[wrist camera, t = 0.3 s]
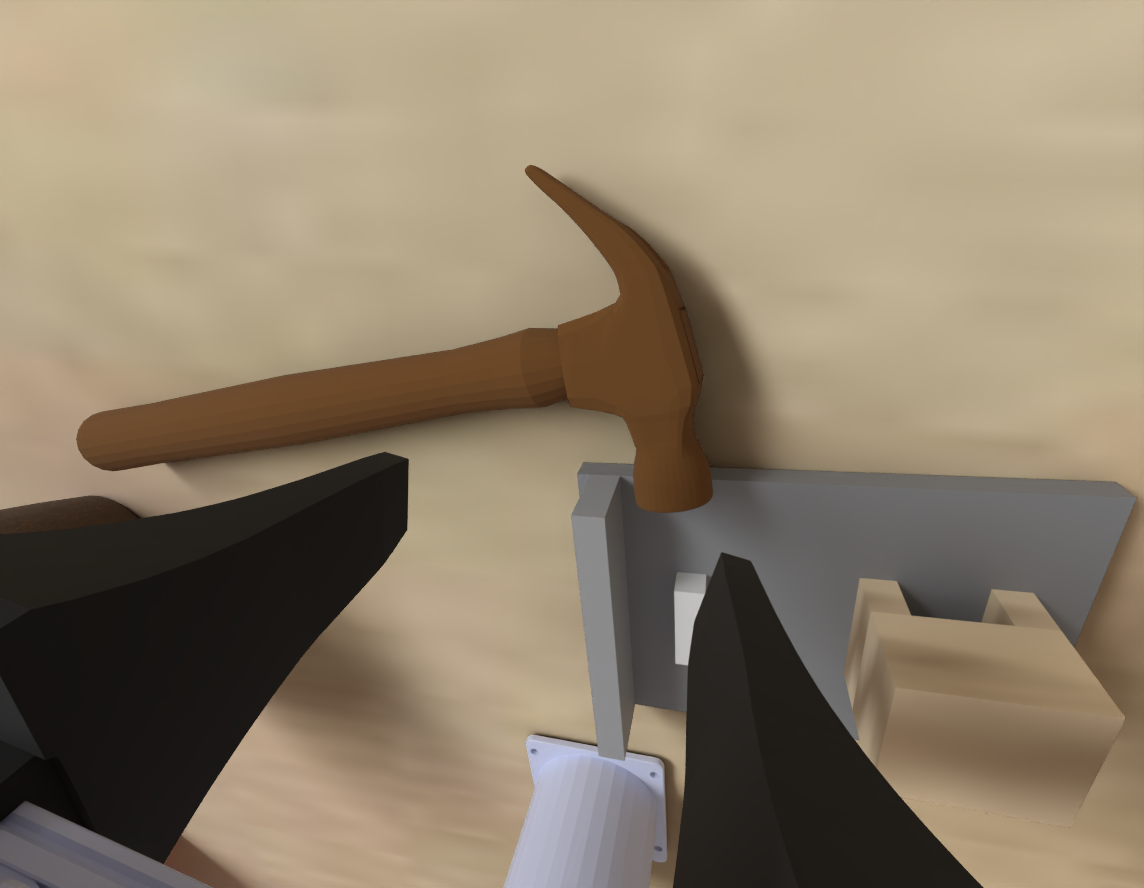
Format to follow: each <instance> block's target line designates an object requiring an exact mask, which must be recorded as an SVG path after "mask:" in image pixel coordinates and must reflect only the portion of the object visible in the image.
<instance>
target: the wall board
mask: <svg viewBox="0 0 1144 888" xmlns="http://www.w3.org/2000/svg"><path fill="white" fill-rule="evenodd" d="M633 469H634V464H612V463H584V462H583V464H582V466H581V468H580V470H579V472H578V473H577V476H578V486H579V495H580V498H579V500H578V502H577V504H576V506H575V509H574V511H573V513H572V515H571V519H572V528H573V536H574V545H575V554H576V563H577V571H578V580H579V589H580V597H581V606H582V615H583V624H584V632H585V641H586V650H587V658H588V667H589V676H590V685H591V693H592V702H593V711H594V719H595V728H596V737H597V745H598V754H599V756H600V757H605V758H611V759H616V760H621V761H625V757H626V752H627V746H628V740H629V735H630V729H631V724H632V718H633V712H634V707H635V704H639V705H645V706H651V707H657V708H663V709H670V710H676V711H682V712H687V676H688V661H689V653H690V646H691V639H692V633H693V626H694V621H695V618H696V615H697V613H698V610H699V608H700V605H701V603H702V600H703V597H704V595H705V592H706V590H707V587H708V585H709V582H710V580H711V577H712V574H713V572H714V569H715V567H716V564H717V562H718V559H719V557H720V554H721V552H723V553H727V554H730V555H733V556H737V557H740V558H743V559H747V560H750V561H751V562H752V564H753V566H754V568H755V570H756V572H757V574H758V576H759V578H760V581H761V583H762V585H763V587H764V589H765V591H766V593H767V595H768V598H769V600H770V602H771V604H772V606H773V608H774V610H775V612H776V614H777V616H778V618H779V620H780V622H781V624H782V625H783V627H784V629H785V631H786V633H787V635H788V637H789V638H790V640H791V642H792V644H793V646H794V648H795V650H796V651H797V653H798V655H799V657H800V658H801V660H802V662H803V664H804V665H805V667H806V669H807V670H808V672H809V674H810V675H811V677H812V678H813V680H814V682H815V683H816V685H817V687H818V688H819V690H820V691H821V693H822V694H823V696H824V697H825V699H826V700H827V702H828V703H829V705H830V706H831V708H832V709H833V710H834V712H835V713H836V715H837V716H838V717H839V719H840V720H841V722H842V723H843V724H844V726H845V727H846V729H847V730H848V731H849V733H850V734H851V736H852V737H853V738H854V739H855V740H859V736H858V732H857V727H856V723H855V719H854V715H853V710H852V706H851V702H850V697H849V693H848V689H847V684H846V680H845V676H844V668H845V662H846V656H847V650H848V644H849V638H850V632H851V627H852V621H853V615H854V609H855V603H856V597H857V591H858V585H859V579H860V578H866V579H878V580H889V581H897V583H898V585H899V587H900V590H901V592H902V595H903V597H904V599H905V602H906V604H907V607H908V609H909V611H910V614H911V616H921V617H931V618H940V619H950V620H960V621H970V622H980V623H981V622H982V619H983V616H984V612H985V609H986V606H987V603H988V599H989V596H990V593H991V590H992V589H994V590H1006V591H1018V592H1029V593H1034V594H1035V596H1036V597H1037V598H1038V600H1039V601H1040V602H1041V604H1042V605H1043V606H1044V608H1045V609H1046V610H1047V612H1048V613H1049V615H1050V616H1051V617H1052V619H1053V620H1054V621H1055V623H1056V624H1057V625H1058V627H1059V628H1060V630H1061V631H1062V632H1063V634H1064V635H1065V636H1066V638H1067V639H1068V640H1069V642H1070V643H1071V644H1072V646H1073V647H1075V645H1076V642H1077V640H1078V638H1079V635H1080V633H1081V630H1082V628H1083V625H1084V623H1085V621H1086V618H1087V616H1088V613H1089V611H1090V609H1091V606H1092V604H1093V601H1094V599H1095V597H1096V594H1097V592H1098V589H1099V587H1100V585H1101V582H1102V580H1103V577H1104V575H1105V573H1106V570H1107V568H1108V565H1109V563H1110V561H1111V558H1112V556H1113V553H1114V551H1115V549H1116V546H1117V544H1118V541H1119V539H1120V537H1121V534H1122V532H1123V529H1124V527H1125V525H1126V522H1127V520H1128V517H1129V515H1130V513H1131V510H1132V508H1133V505H1134V503H1135V501H1136V497H1135V496H1133V495H1132V494H1131V493H1130V492H1128V491H1127V490H1126V489H1125V488H1123V487H1122V486H1121V485H1119V484H1118V483H1117V482H1103V481H1076V480H1049V479H1021V478H994V477H967V476H939V475H912V474H885V473H858V472H830V471H803V470H776V469H748V468H721V467H710V471H711V477H712V486H713V496H712V498H711V500H710V501H709V502H708V503H706V504H705V505H703V506H701V507H698V508H696V509H692V510H688V511H683V512H676V513H656V512H650V511H646V510H644V509H642V508H640V507H639V506H638V505H637V504H636V499H635V492H634V484H633Z"/></svg>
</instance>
